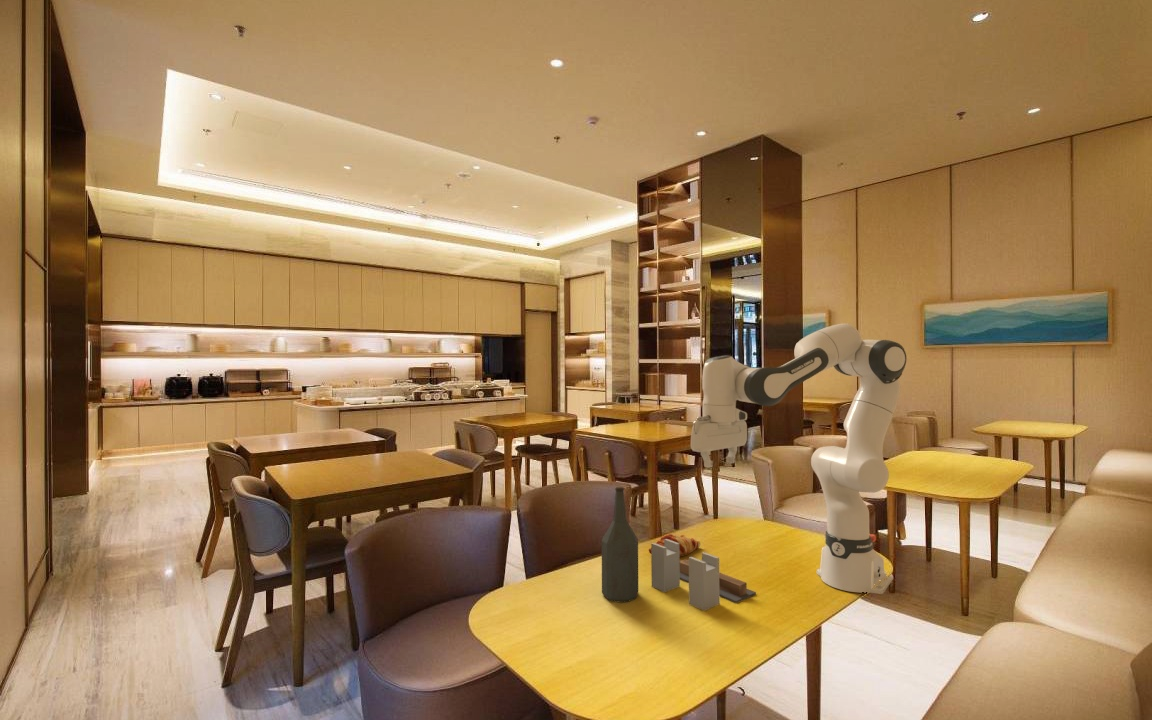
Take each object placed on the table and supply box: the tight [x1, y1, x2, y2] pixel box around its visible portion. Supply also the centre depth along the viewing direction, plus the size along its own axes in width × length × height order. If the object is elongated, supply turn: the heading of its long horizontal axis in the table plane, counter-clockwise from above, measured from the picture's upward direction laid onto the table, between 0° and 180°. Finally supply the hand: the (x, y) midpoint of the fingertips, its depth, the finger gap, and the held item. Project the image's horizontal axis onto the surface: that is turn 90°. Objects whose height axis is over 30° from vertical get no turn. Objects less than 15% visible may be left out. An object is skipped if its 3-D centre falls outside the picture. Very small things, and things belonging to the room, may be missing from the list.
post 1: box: [650, 539, 681, 593], centre depth 151 cm, size 6×5×12 cm
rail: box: [680, 559, 748, 597], centre depth 152 cm, size 3×22×3 cm, turn 37°
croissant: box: [648, 533, 701, 557], centre depth 178 cm, size 21×10×8 cm, turn 118°
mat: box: [680, 572, 757, 604], centre depth 152 cm, size 9×24×1 cm, turn 37°
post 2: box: [688, 552, 721, 612], centre depth 140 cm, size 6×5×12 cm
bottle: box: [601, 486, 639, 603], centre depth 146 cm, size 10×10×30 cm
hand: (719, 465), depth 143 cm, fingers open, 8 cm apart
